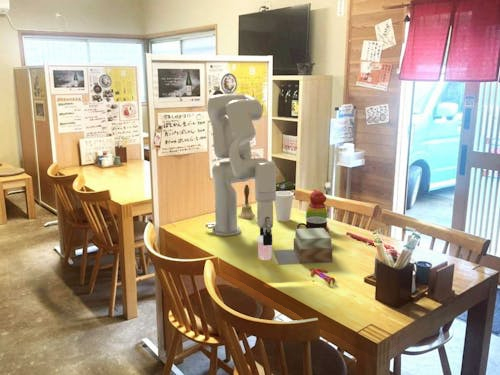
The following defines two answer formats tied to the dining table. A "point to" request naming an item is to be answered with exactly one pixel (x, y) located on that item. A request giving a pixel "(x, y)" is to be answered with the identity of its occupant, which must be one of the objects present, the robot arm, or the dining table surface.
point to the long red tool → (367, 240)
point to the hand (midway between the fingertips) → (265, 240)
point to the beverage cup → (264, 249)
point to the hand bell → (246, 206)
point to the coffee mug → (315, 223)
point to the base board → (289, 257)
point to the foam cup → (283, 205)
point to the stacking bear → (317, 206)
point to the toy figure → (322, 275)
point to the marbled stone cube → (312, 245)
